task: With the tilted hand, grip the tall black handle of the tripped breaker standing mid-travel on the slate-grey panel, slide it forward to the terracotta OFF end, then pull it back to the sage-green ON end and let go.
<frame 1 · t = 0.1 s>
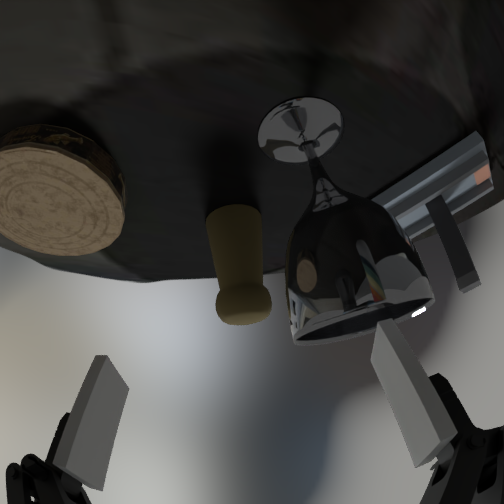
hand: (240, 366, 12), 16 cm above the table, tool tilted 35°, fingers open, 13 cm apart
wood slice: (52, 186, 21), on the table
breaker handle: (454, 242, 25), point 7 cm above the table, slide at 0.0 cm
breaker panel: (429, 190, 29), on the table
cork: (233, 220, 30), on the table
wine glass: (301, 132, 21), on the table, touching gripper
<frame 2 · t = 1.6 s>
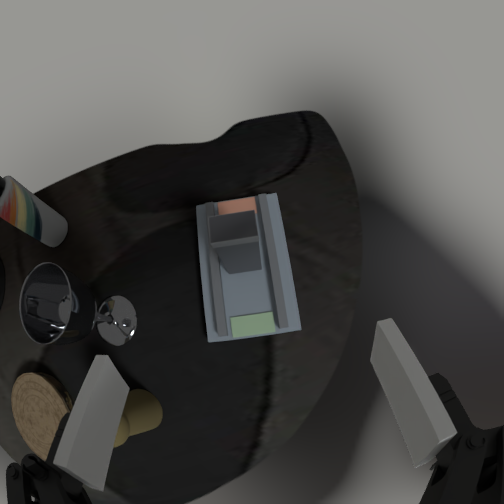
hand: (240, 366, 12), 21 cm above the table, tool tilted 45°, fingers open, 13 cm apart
wood slice: (51, 417, 30), on the table
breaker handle: (239, 247, 29), point 7 cm above the table, slide at 0.0 cm
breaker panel: (245, 266, 36), on the table
lotion bottle: (57, 232, 40), on the table
cork: (142, 409, 31), on the table
wine glass: (115, 320, 35), on the table
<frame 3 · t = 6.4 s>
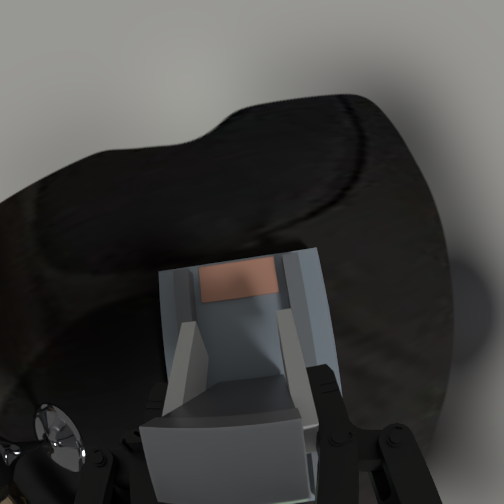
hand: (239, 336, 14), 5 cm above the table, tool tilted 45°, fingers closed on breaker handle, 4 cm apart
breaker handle: (244, 418, 10), point 7 cm above the table, slide at 0.0 cm, touching gripper
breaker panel: (255, 392, 17), on the table
wine glass: (58, 438, 16), on the table
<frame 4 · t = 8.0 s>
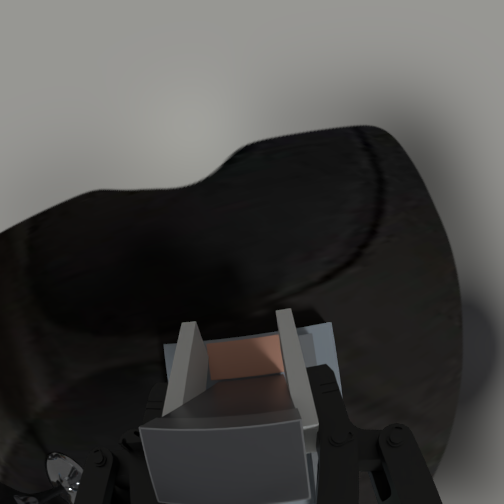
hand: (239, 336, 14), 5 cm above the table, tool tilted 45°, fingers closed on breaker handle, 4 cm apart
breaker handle: (244, 418, 10), point 7 cm above the table, slide at 5.1 cm, touching gripper
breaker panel: (265, 455, 16), on the table
wine glass: (71, 483, 15), on the table
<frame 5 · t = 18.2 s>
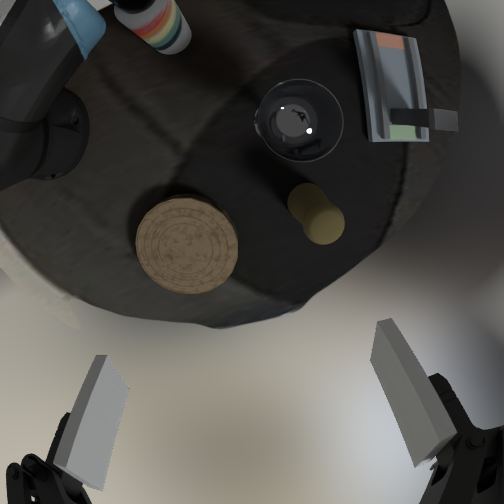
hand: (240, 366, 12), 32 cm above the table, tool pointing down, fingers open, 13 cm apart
wood slice: (188, 241, 44), on the table
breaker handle: (422, 117, 29), point 7 cm above the table, slide at -5.0 cm
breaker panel: (392, 86, 34), on the table
lotion bottle: (172, 38, 30), on the table
cork: (306, 201, 42), on the table
wine glass: (279, 121, 37), on the table
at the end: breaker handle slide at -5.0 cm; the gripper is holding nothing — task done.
